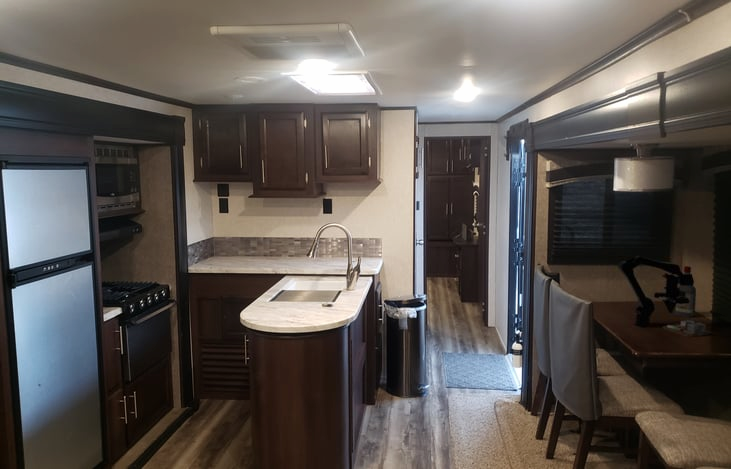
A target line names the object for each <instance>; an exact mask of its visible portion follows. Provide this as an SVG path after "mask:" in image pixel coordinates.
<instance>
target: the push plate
mask: <svg viewBox="0 0 731 469" xmlns="http://www.w3.org/2000/svg"><path fill="white" fill-rule="evenodd" d="M694 323H695V321H694V320H692V319H691V320H689V319H688V320H681V321H680V324H681V326H677V327H678V328H683V329H684V330H687V325H688V324H694Z"/></svg>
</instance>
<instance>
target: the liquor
mask: <svg viewBox="0 0 731 469" xmlns="http://www.w3.org/2000/svg"><path fill="white" fill-rule="evenodd" d="M691 272H692V266H687V265H685V266H684V267H683V274H691ZM678 288H680V291H683V292H685V293H686V295H685V298H688V299H689V303H687V304H679V303H677V304H676V305H675V312H674V313H675V315H676V316H678V317H684V318H693V317H694V316H696V299H697V294H696V293H697V289H696V287H695V286H694V285H693V286H680V285H678Z"/></svg>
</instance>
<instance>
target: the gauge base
mask: <svg viewBox="0 0 731 469" xmlns="http://www.w3.org/2000/svg"><path fill="white" fill-rule="evenodd" d="M677 326H681V323H680V324H670V325H664V326H662V330H665V331H668V332H671V333H674V334H677V335H679V336H683V337H687V338H690V337H698V336H707V335H709V331H707V330H706V329H707V328H706V327H707V326H706V324H703V323H701V322H694V324H688V325H687V330H684V329H683V328H678V327H677Z"/></svg>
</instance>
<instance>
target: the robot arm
mask: <svg viewBox="0 0 731 469" xmlns="http://www.w3.org/2000/svg"><path fill="white" fill-rule="evenodd" d="M641 264H642V265H645V266H649V267H651V268H652V267H653V268H657V269H660V270H662V271H665V272H666V273H664V274H663V275H661V277H662V278H665V286H664V287H663V289H664V290H665V292H663V291H658V292H657V291H656V292H654V294H653V297H654V298H656V299H659V298H662V299H661V300H662V301H661V302H663V303H664V305H665V307H666V309H667V311H668V313H670V314H672V313H673V311H674V309H675V308H676V304H677V303H679V304H687V303H689V299H688V298H685V295H686V293H685V292H683V291H680V288H678V286H694V284H695V281H694V280H695V279H694V277H693V274H692V273H690V274H684V272H682V271H681V268H680V266H679V265H678V264H676V263H673V262H669V261H668V262H667V261H659V260H654V259H651V258H648V257H643V256H640V255H636V256H634V257H632V258H627V259H626V260H622V261H621V260H620V262H619V263H618V264H617V268H618V270H619V271H620V272H621V273H622V275H623V276H624V277H625V278H626V279H627V281H628V284H629V285H630V287H631V288H632V291H633V292H634V294H635V297H637V302H638V306H637V307H636V308H635V309H634V311H635V314H636V315H635V316H636V317H635V318H636V319H635V323H633V325H635V326H637V327H641V328H646V327H647V328H648V327H652V325H651V324H650V319H651V316H652V314H653V313H654V311H655V309H656V308H655V304H654V303H653V300H652V299H651V298H650V297H648V296H646V295H645V293H644V291H643V289H642V287H641V286H640V283H639V281H638V280H637V278H636V277H635V276H636V275H635V271H634V269H635V268H637V267H638V266H639V265H641ZM669 273H670V274H669Z"/></svg>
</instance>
